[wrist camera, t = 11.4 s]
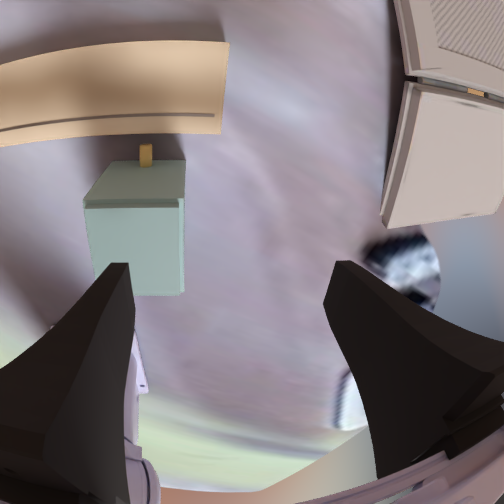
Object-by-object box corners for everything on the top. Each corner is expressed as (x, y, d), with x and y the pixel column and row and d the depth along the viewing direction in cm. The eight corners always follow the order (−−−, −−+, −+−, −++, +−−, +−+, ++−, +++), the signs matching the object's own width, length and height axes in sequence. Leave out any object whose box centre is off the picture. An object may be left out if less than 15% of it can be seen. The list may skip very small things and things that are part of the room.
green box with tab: (184, 233, 20) (184, 298, 15) (118, 233, 19) (96, 298, 14) (186, 140, 17) (184, 174, 12) (112, 141, 16) (75, 177, 11)
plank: (218, 128, 17) (220, 134, 15) (-65, 157, 12) (-79, 165, 11) (226, 45, 14) (229, 42, 13) (-70, 94, 10) (-85, 99, 8)
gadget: (487, 207, 25) (511, 224, 22) (374, 221, 23) (398, 245, 20) (501, -6, 13) (530, -4, 9) (372, -64, 11) (402, -78, 8)
